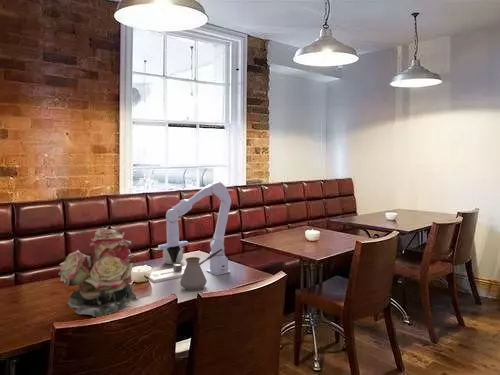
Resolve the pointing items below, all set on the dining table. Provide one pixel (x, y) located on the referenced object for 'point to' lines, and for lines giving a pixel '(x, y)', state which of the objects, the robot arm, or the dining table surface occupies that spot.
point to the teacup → (168, 259)
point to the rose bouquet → (100, 275)
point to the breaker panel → (166, 274)
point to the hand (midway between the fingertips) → (173, 262)
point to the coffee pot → (194, 274)
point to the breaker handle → (177, 267)
